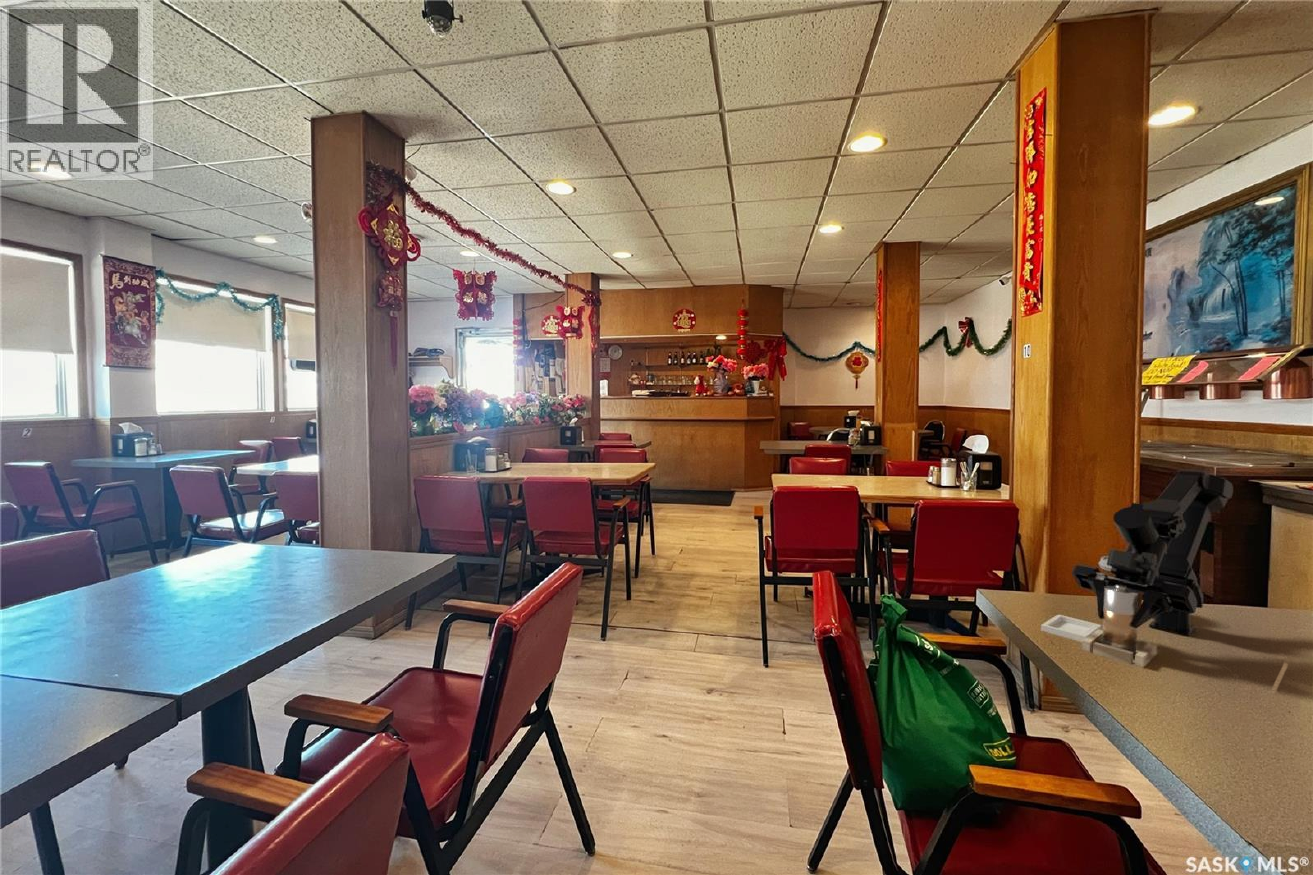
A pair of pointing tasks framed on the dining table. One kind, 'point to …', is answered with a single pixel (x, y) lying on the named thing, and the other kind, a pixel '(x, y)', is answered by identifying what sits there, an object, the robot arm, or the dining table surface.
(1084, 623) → the tray
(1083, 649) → the tray
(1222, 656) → the dining table surface
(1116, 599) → the battery cell
